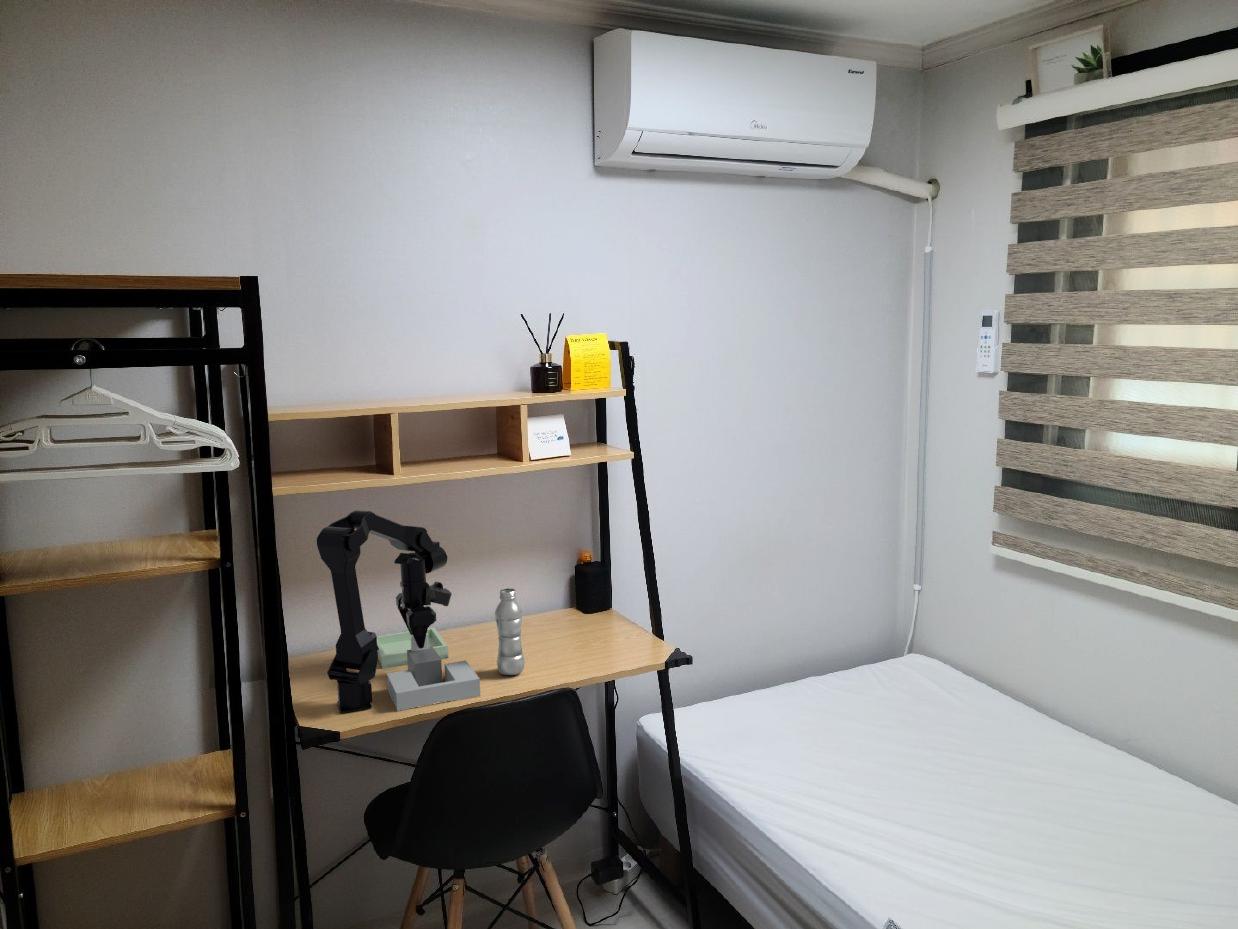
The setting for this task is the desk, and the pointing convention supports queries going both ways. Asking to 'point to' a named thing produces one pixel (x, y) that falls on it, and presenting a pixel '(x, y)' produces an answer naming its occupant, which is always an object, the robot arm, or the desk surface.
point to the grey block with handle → (424, 663)
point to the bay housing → (433, 687)
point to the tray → (405, 647)
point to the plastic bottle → (509, 633)
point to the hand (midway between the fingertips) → (417, 642)
